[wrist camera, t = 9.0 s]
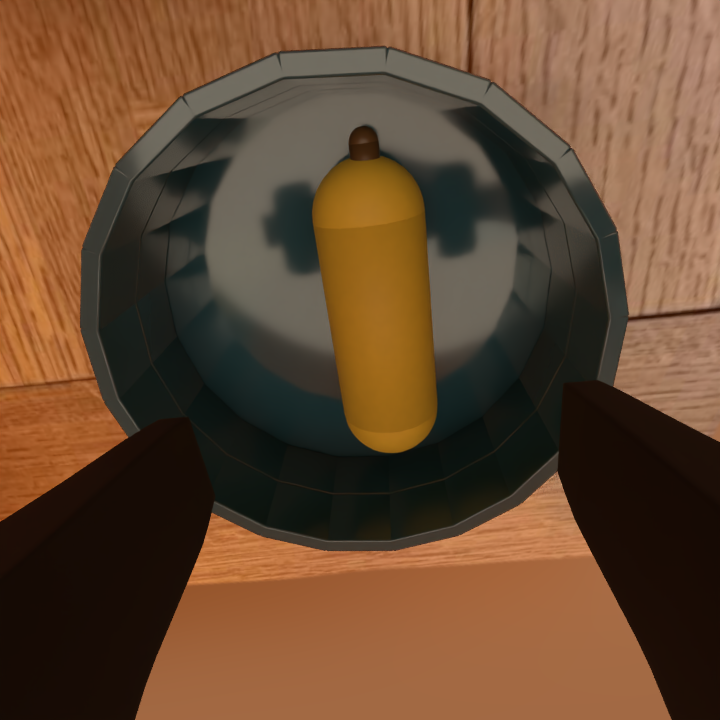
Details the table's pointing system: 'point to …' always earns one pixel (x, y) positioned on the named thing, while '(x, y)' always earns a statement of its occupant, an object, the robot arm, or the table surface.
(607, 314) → the bowl
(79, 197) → the table surface
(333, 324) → the banana
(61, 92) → the table surface
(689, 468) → the robot arm
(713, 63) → the table surface
